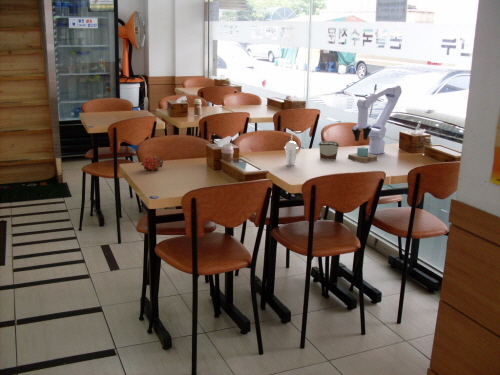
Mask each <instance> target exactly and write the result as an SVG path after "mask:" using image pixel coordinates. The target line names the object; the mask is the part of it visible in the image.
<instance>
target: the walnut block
mask: <svg viewBox="0 0 500 375" xmlns="http://www.w3.org/2000/svg"><path fill="white" fill-rule="evenodd" d="M347 159H348V160H351V161H356V162H359V163H362V164H363V163H369V162H373V161H377V160H378V156H377V155H375V154H371V153H368V156H363V157H362V156H358V155H357V152H356V153H349V154H348V155H347Z"/></svg>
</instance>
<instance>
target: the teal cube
mask: <svg viewBox="0 0 500 375" xmlns="http://www.w3.org/2000/svg"><path fill="white" fill-rule="evenodd" d="M368 151H369V147H364V146H361V147H357V152H356V153H357V155H358V156H362V157H363V156H368V154H369V153H368Z"/></svg>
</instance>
